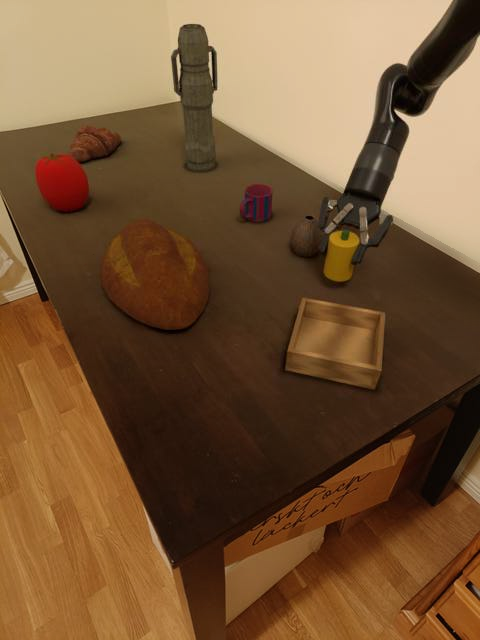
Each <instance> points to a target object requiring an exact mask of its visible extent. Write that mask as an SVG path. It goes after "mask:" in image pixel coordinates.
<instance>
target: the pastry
mask: <svg viewBox="0 0 480 640" xmlns="http://www.w3.org/2000/svg"><path fill="white" fill-rule="evenodd" d="M121 142H122V137H121V135H120V134H119V133H118V132H117V131H112V130H109V129H108V128H106V127H100V128H96V127H93V126H92V125H83V126H80V127H79V128H78V129H77V132H76V135H75V136H74V140H73V141H71V144H70V150H69V151H68V155H70V156H71V157H73V158H75V159H76V160H77V161H78V163H85V162H89V161H92V160H98V159H101V158H105V157H108V156H110V154H112V153H114V152H115V149H116V148H117V147H118V146H120V144H121Z"/></svg>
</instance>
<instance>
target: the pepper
mask: <svg viewBox="0 0 480 640" xmlns="http://www.w3.org/2000/svg"><path fill="white" fill-rule="evenodd" d="M360 243H361V238H360V237H359V236H358V235H357V234H356V233H354V232H352V231H350V230H349V229H345V228H344V229H342V230H338V231H336V232H333V233H332V234H331V235H330V236H329V242H328V248H327V253H326V255H325V260H324V267H323V274H324V276H325V277H326V278H327V279H329V280H330V281H334V282H346V281H349V280H350V279H351V278H352V277H353V274H354V273H353V272H354V267H355V266H354V265H352V264H351V262H352V259H353V257H354V254H355V252H356V249H357V247H358V245H359V244H360Z"/></svg>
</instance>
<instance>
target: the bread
mask: <svg viewBox="0 0 480 640" xmlns="http://www.w3.org/2000/svg"><path fill="white" fill-rule="evenodd" d="M99 267H100V269H99V278H100V282H101V284H102V287H103V291H104V292H105V293H106V295H107V297H108V299H109V300H110V301H111V302H112V303H113V304H114V305H115V306H116V307H117V308H119V309H120V310H121V311H123V313H125V315H128V316H129V317H131V318H132V319H134V320H135V321H137V322H139V323H142V324H145V325H147V326H149V327H151V328H157V329H161V330H164V331H170V330H173V331H175V330H176V331H177V330H179V331H180V330H186V329H188V328H189V327H191V325H193V324H194V323H195V322H196V321H197V319H198V318H200V316H201V314H202V313H203V312H204V310H205V307H206V305H207V303H208V302H209V297H210V292H211V269H210V268H209V266H208V264H207V262H206V260H205V258H204V256H203V255H202V253H201V252H200V250H198V248H197V247H196V245H194V244H193V242H192V241H191V240H190V239H189V238H188V237H185V236H184V235H183V234H181V233H179V232H177V231H176V230H173V229H172V228H170V227H168V226H165V225H163V224H160V223H157V222H156V221H154V220H151V219H149V218H138V219H134V220H132V221H131V222H129V223H128V224H127V225H125V226H124V227H123V228H122V229H121V230H120V231H119V232H118V233H117V234H115V236H114V237H112V239H111V241H110V243H109V244H108V246H107V248H106V250H105V252H104V253H103V254H102V257H101V262H100V266H99Z"/></svg>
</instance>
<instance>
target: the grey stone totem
mask: <svg viewBox="0 0 480 640" xmlns="http://www.w3.org/2000/svg"><path fill="white" fill-rule="evenodd" d="M210 55H211V69H210V66H209V63H210ZM177 58H178V59H179V64H180V68H179V70H178V62H177V61H178V59H177ZM170 61H171V72H172V82H173V83H172V84H173V92H174V93H175V94H176V95H177V96H179V100H180V104H181V106H182V113H183V124H184V125H183V126H184V136H185V138H184V143H183V147H184V157H185V160H186V168H187V169H188V170H190V171H192V172H207V171H208V172H209V171H211V170H212V169H214V168H216V157H217V155H216V142H215V138H214V132H213V131H214V129H213V106H212V105H213V103H214V94H215V92H216V91H218V83H219V82H218V53H217V51H216V49H215V48H214V46H212V45H209V38H208V34H207V31H206V28H205V26H204V25H203V26H202V24H199V23H186V24H183V25H182V26H180V27H179V31H178V36H177V48H176V49H174V50H172V53H171V55H170ZM210 70H211V71H210ZM179 71H180V72H179ZM178 72H179V73H178Z"/></svg>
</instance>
